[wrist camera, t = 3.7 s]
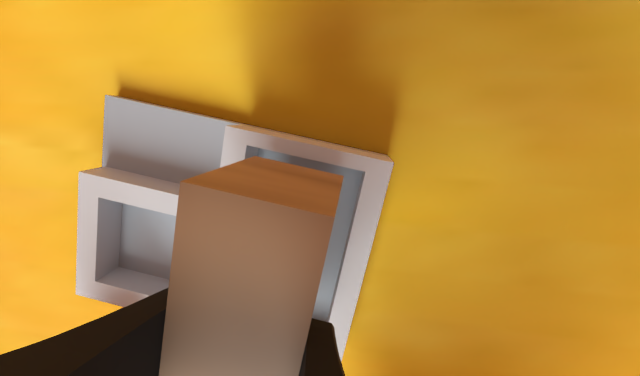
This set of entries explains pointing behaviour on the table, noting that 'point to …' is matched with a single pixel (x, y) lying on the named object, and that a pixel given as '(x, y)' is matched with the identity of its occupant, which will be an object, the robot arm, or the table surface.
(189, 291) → the tan rectangular block
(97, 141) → the table surface
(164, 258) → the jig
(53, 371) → the robot arm
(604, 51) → the table surface
